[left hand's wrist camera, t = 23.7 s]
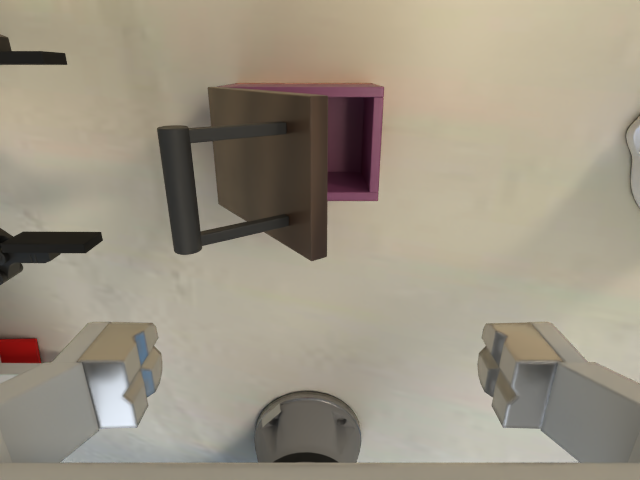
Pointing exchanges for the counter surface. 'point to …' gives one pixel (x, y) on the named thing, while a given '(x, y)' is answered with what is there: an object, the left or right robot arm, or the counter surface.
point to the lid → (254, 169)
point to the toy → (17, 357)
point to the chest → (346, 134)
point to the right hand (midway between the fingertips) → (76, 157)
